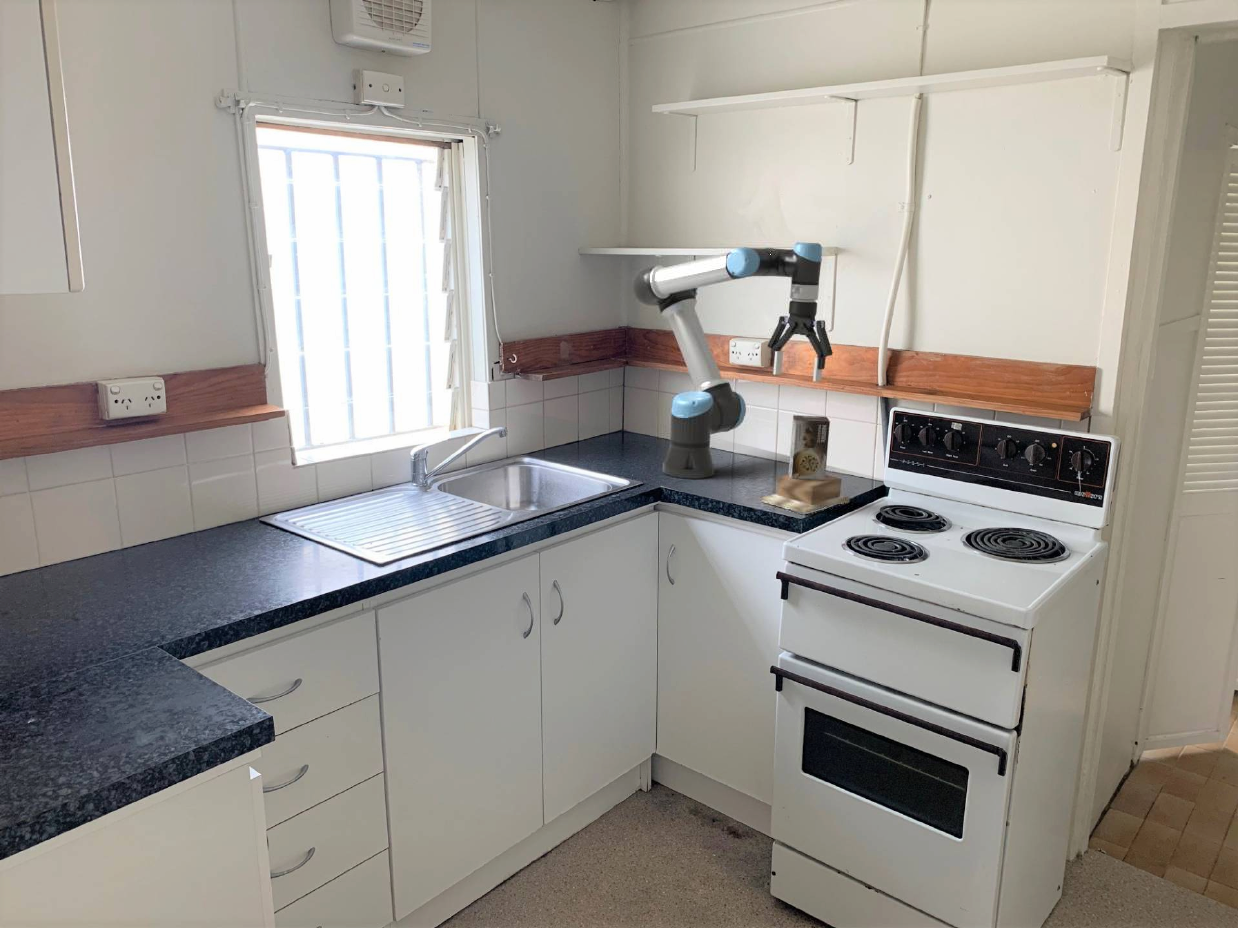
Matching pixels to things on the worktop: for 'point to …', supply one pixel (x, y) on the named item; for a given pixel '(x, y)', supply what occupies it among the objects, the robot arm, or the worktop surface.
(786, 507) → the board
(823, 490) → the base block
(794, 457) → the cookie box
